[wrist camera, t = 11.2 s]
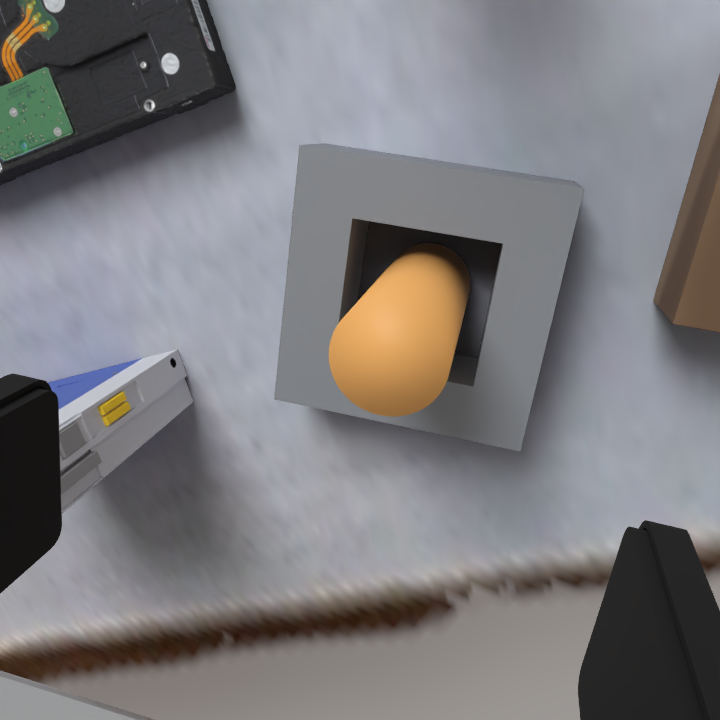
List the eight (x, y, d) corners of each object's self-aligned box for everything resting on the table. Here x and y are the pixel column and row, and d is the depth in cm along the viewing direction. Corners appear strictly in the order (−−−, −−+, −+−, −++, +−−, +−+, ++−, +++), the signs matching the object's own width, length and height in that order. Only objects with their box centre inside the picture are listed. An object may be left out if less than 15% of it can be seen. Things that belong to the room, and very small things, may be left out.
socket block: (574, 181, 26) (584, 188, 23) (519, 416, 29) (520, 451, 26) (324, 143, 27) (299, 145, 24) (299, 371, 31) (274, 399, 28)
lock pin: (477, 251, 28) (461, 312, 18) (461, 332, 29) (438, 427, 20) (393, 236, 28) (336, 288, 19) (381, 316, 29) (321, 403, 20)
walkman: (66, 432, 35) (-143, 573, 24) (44, 382, 34) (-182, 504, 23) (199, 402, 33) (38, 542, 21) (179, 348, 32) (2, 464, 21)
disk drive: (148, -185, 26) (-136, -26, 30) (108, -222, 23) (-197, -42, 27) (246, 90, 28) (-29, 203, 32) (220, 85, 26) (-76, 209, 30)
